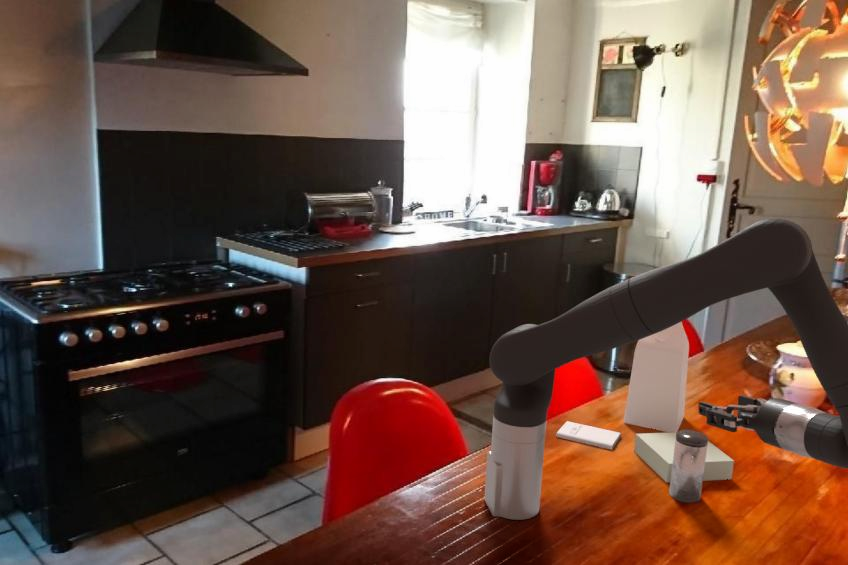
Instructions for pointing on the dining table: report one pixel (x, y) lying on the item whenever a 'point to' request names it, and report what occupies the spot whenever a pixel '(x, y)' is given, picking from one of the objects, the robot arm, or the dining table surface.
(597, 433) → the external hard drive
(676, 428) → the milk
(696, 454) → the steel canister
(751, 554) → the dining table surface
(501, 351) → the robot arm
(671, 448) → the stand
